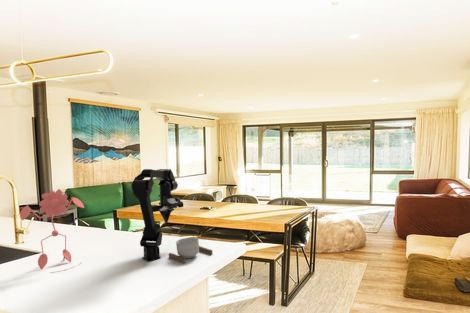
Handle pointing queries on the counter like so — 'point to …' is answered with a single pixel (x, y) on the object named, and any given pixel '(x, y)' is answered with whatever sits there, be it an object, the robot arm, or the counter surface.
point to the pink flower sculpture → (52, 206)
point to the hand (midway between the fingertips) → (166, 222)
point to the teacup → (187, 247)
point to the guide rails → (184, 258)
